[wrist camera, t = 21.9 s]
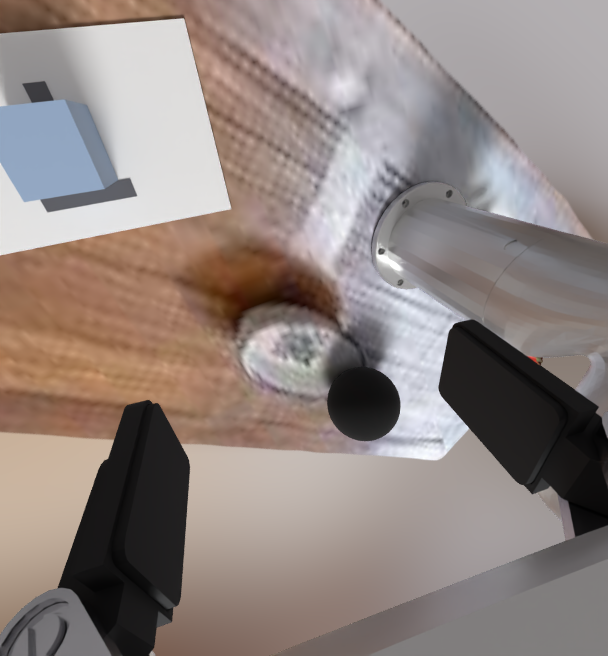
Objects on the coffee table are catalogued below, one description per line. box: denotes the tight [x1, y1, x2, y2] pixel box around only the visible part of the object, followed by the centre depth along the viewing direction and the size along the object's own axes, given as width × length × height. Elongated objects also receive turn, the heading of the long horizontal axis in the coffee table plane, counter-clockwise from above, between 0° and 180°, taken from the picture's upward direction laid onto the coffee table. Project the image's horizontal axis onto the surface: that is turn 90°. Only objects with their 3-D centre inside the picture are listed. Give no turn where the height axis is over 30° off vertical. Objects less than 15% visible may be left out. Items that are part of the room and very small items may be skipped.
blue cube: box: [0, 99, 118, 202], centre depth 21 cm, size 5×5×5 cm
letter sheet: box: [0, 18, 231, 255], centre depth 23 cm, size 22×13×1 cm, turn 97°
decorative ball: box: [327, 367, 400, 441], centre depth 43 cm, size 10×10×10 cm
